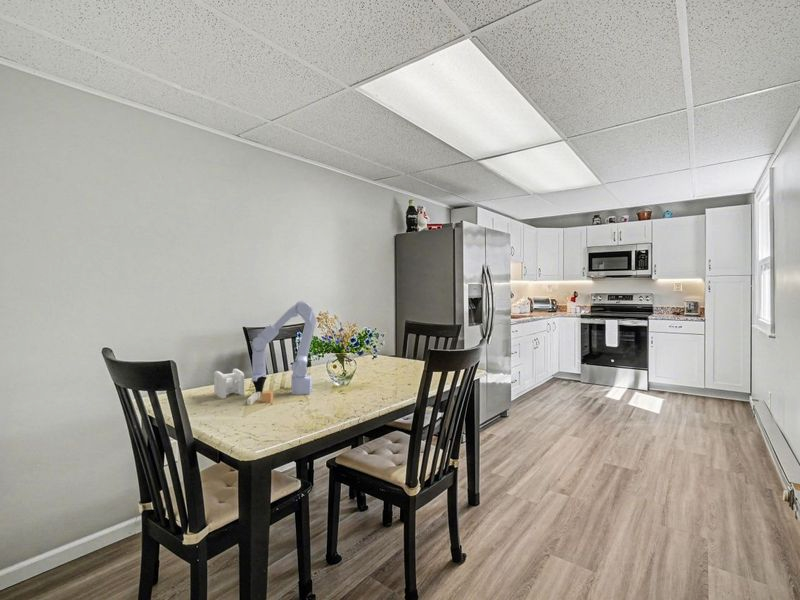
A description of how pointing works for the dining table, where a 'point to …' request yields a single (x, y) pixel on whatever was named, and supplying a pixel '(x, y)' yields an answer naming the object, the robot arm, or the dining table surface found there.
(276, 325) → the robot arm
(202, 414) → the dining table surface
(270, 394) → the plug block
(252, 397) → the bar
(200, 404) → the dining table surface
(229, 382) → the cable organizer
